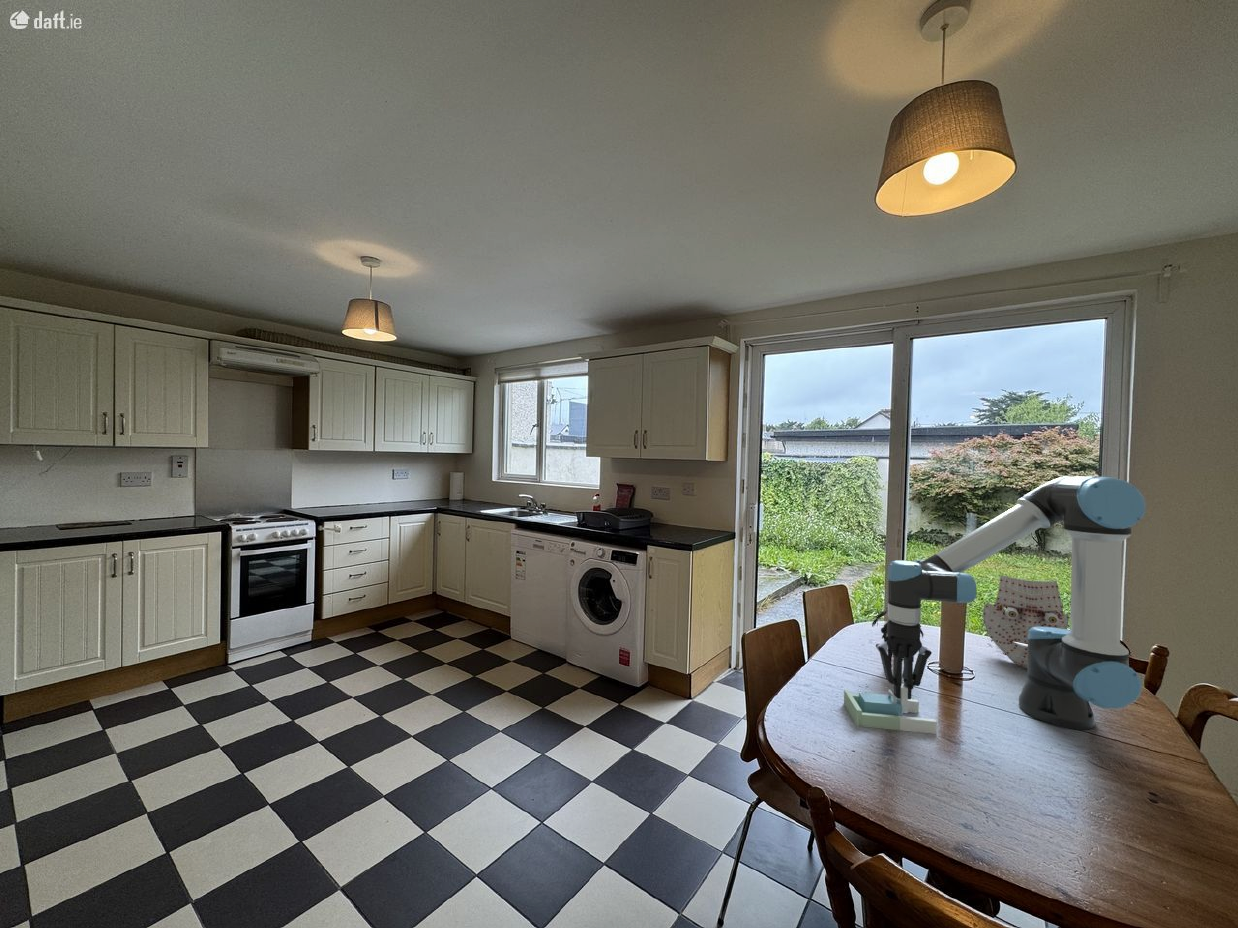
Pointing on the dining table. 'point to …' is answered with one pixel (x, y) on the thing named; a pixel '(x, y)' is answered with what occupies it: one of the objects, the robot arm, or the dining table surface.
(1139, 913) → the dining table surface
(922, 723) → the frame
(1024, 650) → the decorative mask
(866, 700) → the blue handled block
